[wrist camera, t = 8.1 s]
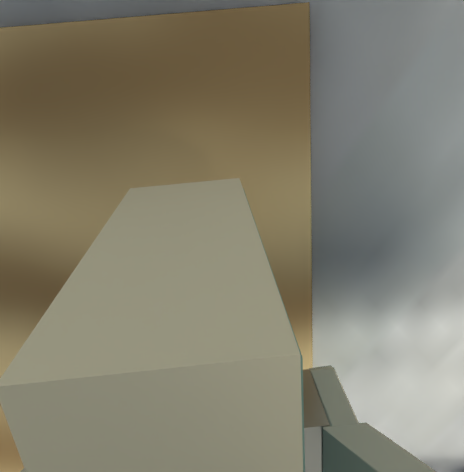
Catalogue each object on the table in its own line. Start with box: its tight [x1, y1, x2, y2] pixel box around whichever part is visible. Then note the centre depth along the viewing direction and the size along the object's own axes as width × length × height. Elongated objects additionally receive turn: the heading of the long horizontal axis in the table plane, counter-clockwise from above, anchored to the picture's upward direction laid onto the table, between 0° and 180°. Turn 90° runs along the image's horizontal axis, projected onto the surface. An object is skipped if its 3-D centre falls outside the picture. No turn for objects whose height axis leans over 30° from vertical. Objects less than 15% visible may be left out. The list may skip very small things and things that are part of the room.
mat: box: [0, 2, 312, 472], centre depth 13 cm, size 16×13×1 cm
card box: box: [0, 178, 305, 472], centre depth 8 cm, size 9×3×6 cm, turn 5°
